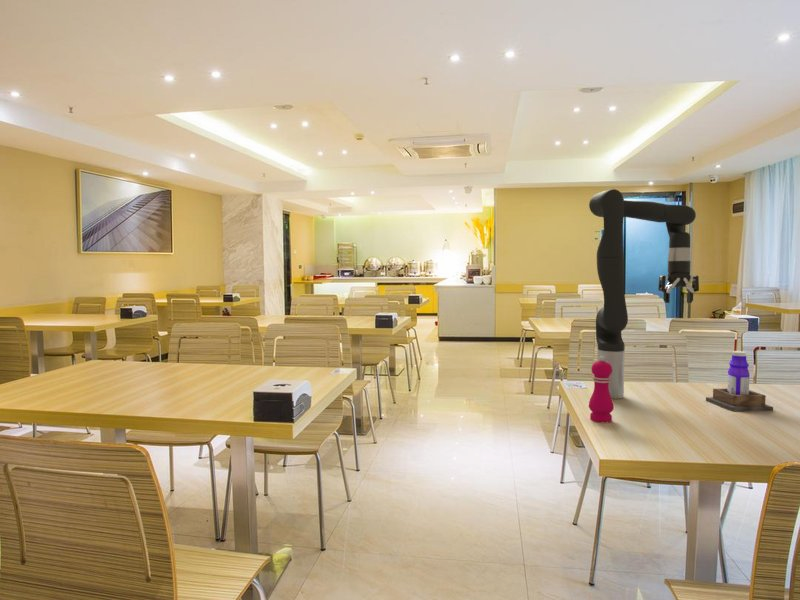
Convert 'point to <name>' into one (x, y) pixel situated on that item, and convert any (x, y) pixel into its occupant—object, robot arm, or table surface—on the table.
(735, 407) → the open box
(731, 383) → the bottle
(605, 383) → the pepper mill
